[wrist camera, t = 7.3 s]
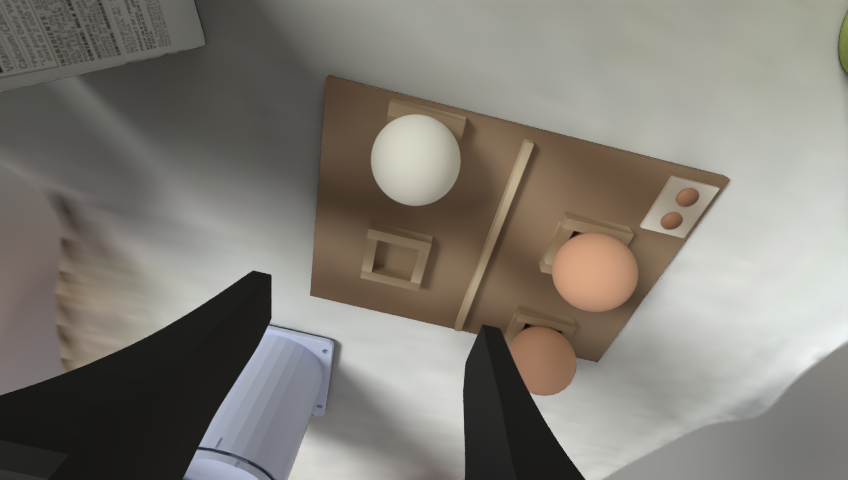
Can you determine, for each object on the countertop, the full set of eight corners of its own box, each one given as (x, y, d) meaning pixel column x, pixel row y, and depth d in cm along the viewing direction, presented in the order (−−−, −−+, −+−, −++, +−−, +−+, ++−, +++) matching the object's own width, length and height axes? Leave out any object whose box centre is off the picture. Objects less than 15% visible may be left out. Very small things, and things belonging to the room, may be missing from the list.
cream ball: (449, 191, 20) (445, 231, 17) (374, 173, 20) (356, 209, 17) (471, 115, 18) (471, 144, 15) (387, 94, 18) (368, 119, 15)
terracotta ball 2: (600, 282, 23) (623, 336, 19) (534, 267, 22) (546, 319, 19) (637, 227, 20) (670, 277, 17) (564, 209, 20) (584, 257, 17)
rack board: (593, 360, 27) (598, 374, 26) (311, 294, 26) (305, 306, 25) (725, 175, 19) (739, 186, 18) (329, 75, 18) (320, 80, 17)
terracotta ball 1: (553, 361, 26) (565, 416, 23) (496, 348, 26) (500, 401, 23) (579, 321, 24) (596, 374, 21) (517, 306, 24) (525, 357, 21)
